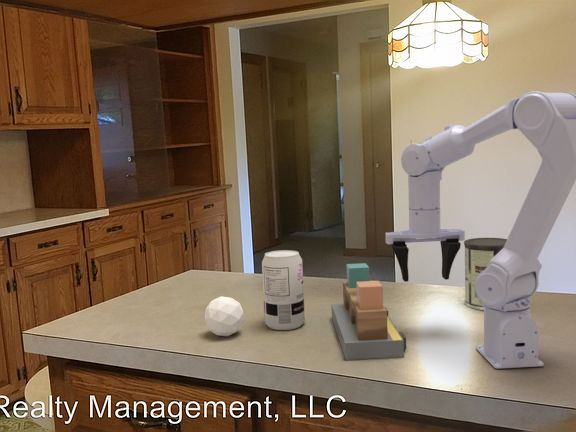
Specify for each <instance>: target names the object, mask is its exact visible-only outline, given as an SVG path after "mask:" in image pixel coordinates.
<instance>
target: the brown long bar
mask: <svg viewBox="0 0 576 432" xmlns="http://www.w3.org/2000/svg"><path fill="white" fill-rule="evenodd" d="M342 293H343V294H342V297H343V298H342V299H343V304H344V307H345V309H346V310H349V319H350V321H351V323H352V324H356V335H357V337H358V340H359V341H360V340H379V339H388V330H387V310H388V309H387V308H386V309H387V310H386V309H385V307H386V306H385V305H383V309H367V310H360V308H359V306H358V304H357V288H349V286H348V284H347V280H346V281H342Z"/></svg>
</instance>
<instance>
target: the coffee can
mask: <svg viewBox="0 0 576 432" xmlns="http://www.w3.org/2000/svg"><path fill="white" fill-rule="evenodd" d="M507 239H508V238H504V237H503V238H501V237H475V238H468V239H465V240H464V241H463V245H464V287H465V289H464V292H465V293H464V294H465V295H464V296H465V297H464V298H465V299H464V305H465V306H467V307H468V308H471V309H475V310H479V311H484V307H483V306H482V302H481V301H480V299H479V298H478V296H477V294H476V291H475V280H476V278H477V276H478V274H479V273H480V272H482V271H483V270H485V269H486V268H487V266H488V264H489V262H490V260H491V259H492V258H493V257H494V256H495V255H496V254H497V253H499V252H500V251H501V250H502V249H503V248H504V245H505V243H506V241H507Z"/></svg>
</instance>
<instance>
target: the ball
mask: <svg viewBox="0 0 576 432" xmlns="http://www.w3.org/2000/svg"><path fill="white" fill-rule="evenodd" d="M244 314H245V313H244V310H243V308H242V305H241V303H240V302H239V301H237V300H236V299H234V298H233V297H230V296H229V297H228V296H221V295H220V296H219V297H217V298H214V299H212V300H211V301H210V302H209V303H208V305H207V307H206V308H205V310H204V322H205V324H206V326H207V328H208V330H209V331H210V332H211V333H213V334H214V335H216V336H220V337H229V336H231V335H233V334H235V333H237V332H238V331H239V330H240V328H241V326H242V325H243V324H244Z"/></svg>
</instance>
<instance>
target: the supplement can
mask: <svg viewBox="0 0 576 432" xmlns="http://www.w3.org/2000/svg"><path fill="white" fill-rule="evenodd" d="M303 267H304V266H303V258H302V257H301V255H300V252H299V251H297V250H289V249H288V250H287V249H283V250H272V251H268V252H265V253H264V256H263V259H262V261H261V272H262V273H261V275H262V291H263V294H262V295H263V309H264V311H263V312H264V313H263V314H264V315H263V316H264V323H265V325H266V326H267V327H268V328H269V329H271V330H276V331H291V330H295V329H298V328H300V327H302V325H303V324H304V323H305V321H306V320H305V319H306V316H305V295H304V293H305V291H304V271H303V270H304V269H303Z"/></svg>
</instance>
